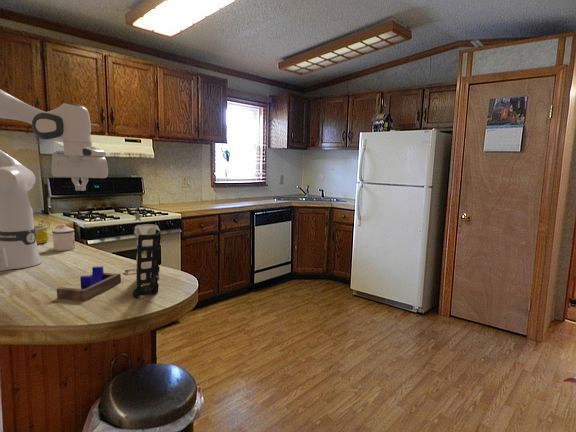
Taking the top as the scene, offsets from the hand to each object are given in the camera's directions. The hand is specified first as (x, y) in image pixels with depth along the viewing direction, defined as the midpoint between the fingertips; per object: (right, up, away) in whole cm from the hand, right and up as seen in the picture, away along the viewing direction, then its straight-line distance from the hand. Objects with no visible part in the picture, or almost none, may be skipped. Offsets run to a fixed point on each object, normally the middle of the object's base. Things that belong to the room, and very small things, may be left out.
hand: (80, 190), depth 136 cm
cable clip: (+9, -33, -10) cm, 36 cm away
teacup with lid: (-32, -25, +44) cm, 60 cm away
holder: (+29, -34, -13) cm, 46 cm away
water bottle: (+24, -32, 0) cm, 40 cm away
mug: (-51, -23, +55) cm, 78 cm away
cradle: (+9, -33, -11) cm, 36 cm away
